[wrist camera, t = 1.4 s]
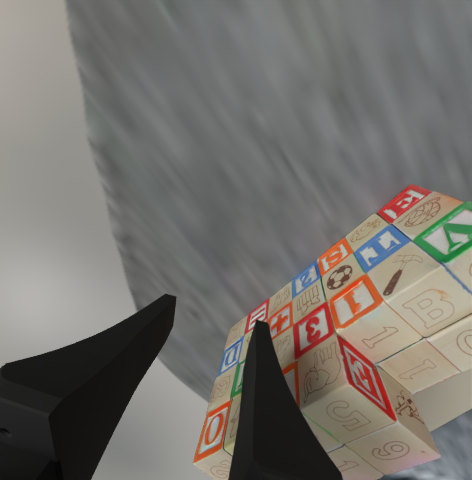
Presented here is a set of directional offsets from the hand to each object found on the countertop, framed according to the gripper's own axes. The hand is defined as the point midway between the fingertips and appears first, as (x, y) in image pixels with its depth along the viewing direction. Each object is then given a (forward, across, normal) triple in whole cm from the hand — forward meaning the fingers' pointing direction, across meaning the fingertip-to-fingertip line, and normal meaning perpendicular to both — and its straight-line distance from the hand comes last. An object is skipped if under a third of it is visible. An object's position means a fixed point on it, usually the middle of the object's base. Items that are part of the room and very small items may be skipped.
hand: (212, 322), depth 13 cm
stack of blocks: (+11, -8, +2) cm, 14 cm away
